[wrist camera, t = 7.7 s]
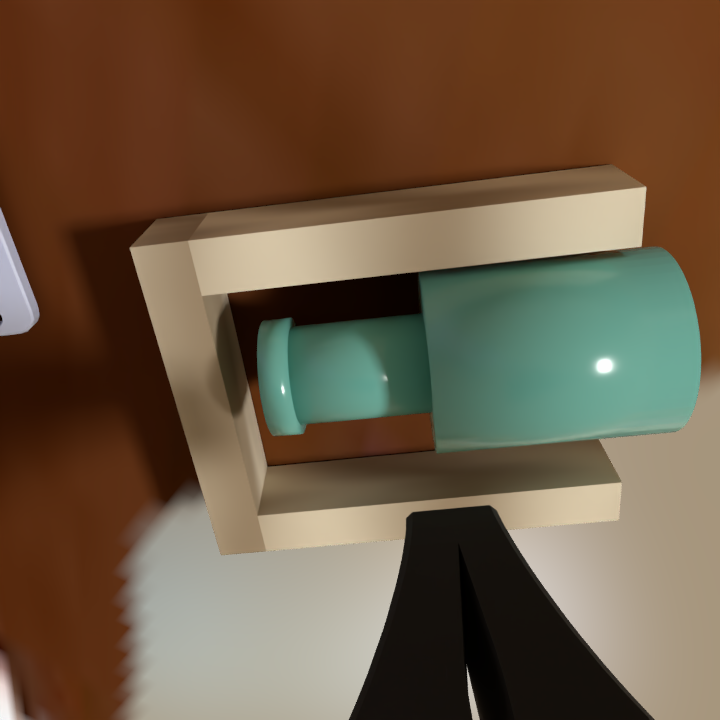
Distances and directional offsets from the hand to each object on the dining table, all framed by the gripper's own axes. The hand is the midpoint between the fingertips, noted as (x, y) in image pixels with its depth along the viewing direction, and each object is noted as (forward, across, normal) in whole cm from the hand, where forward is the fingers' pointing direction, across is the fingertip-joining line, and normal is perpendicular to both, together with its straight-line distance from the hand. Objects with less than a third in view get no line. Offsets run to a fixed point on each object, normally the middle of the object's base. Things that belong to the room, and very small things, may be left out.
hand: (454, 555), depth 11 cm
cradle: (+7, 0, 0) cm, 7 cm away
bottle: (+5, -5, -1) cm, 7 cm away
